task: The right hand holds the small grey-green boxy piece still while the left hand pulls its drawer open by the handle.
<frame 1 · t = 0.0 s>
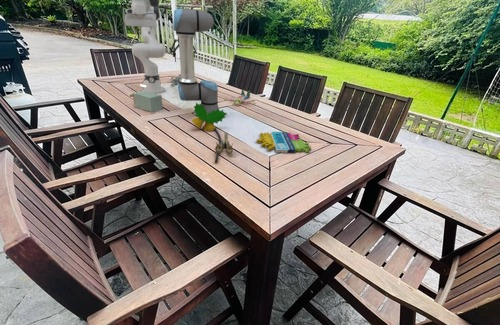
left hand: (142, 33, 183), 48 cm above the table, tool pointing down, fingers open, 8 cm apart
right hand: (184, 61, 211), 28 cm above the table, tool pointing down, fingers open, 13 cm apart
grey-green boxy piece: (149, 108, 192), on the table
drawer: (143, 99, 192), point 5 cm above the table, slide at 0.5 cm
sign: (281, 143, 152), on the table
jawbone: (224, 151, 138), on the table
toy: (241, 101, 221), on the table
airplane: (181, 82, 268), on the table
ornament: (209, 128, 165), on the table
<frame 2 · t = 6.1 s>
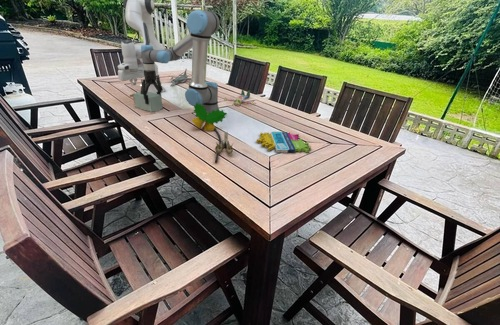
left hand: (134, 85, 191), 14 cm above the table, tool pointing down, fingers closed
right hand: (153, 102, 187), 5 cm above the table, tool pointing down, fingers closed on grey-green boxy piece, 10 cm apart
grey-green boxy piece: (149, 108, 192), on the table, touching right hand
everything else where it was.
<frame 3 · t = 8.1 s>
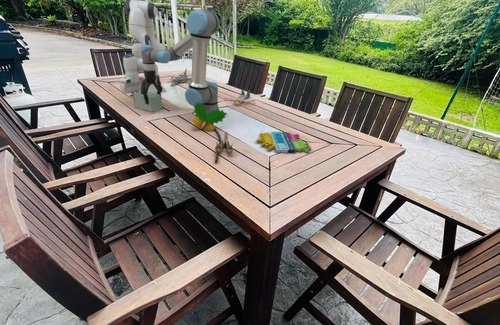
left hand: (135, 97, 196), 5 cm above the table, tool pointing down, fingers closed, pressing on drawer
right hand: (153, 102, 187), 5 cm above the table, tool pointing down, fingers closed on grey-green boxy piece, 10 cm apart
grey-green boxy piece: (149, 107, 192), on the table, touching right hand
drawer: (143, 99, 192), point 5 cm above the table, slide at 0.5 cm, touching left hand
everything else where it was.
when the right hand's fingers open (5 cm above the table, at t = 11.1 s): grey-green boxy piece stays where it is, on the table.
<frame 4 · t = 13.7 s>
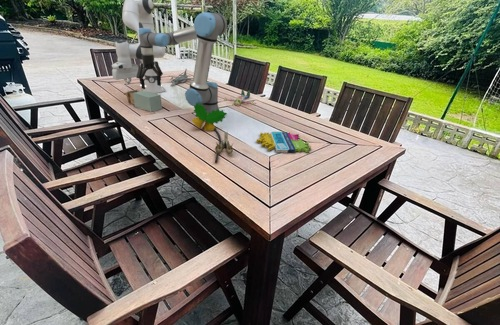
left hand: (128, 84, 194), 14 cm above the table, tool pointing down, fingers closed
right hand: (151, 87, 182), 16 cm above the table, tool pointing down, fingers open, 13 cm apart
grey-green boxy piece: (148, 107, 192), on the table
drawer: (136, 97, 195), point 5 cm above the table, slide at 7.1 cm
everything else where it was.
at the end: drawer slide at 7.1 cm; grey-green boxy piece tilted 0°; grey-green boxy piece never tilted more than 4° during the clip; grey-green boxy piece moved 0.8 cm from its start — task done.
